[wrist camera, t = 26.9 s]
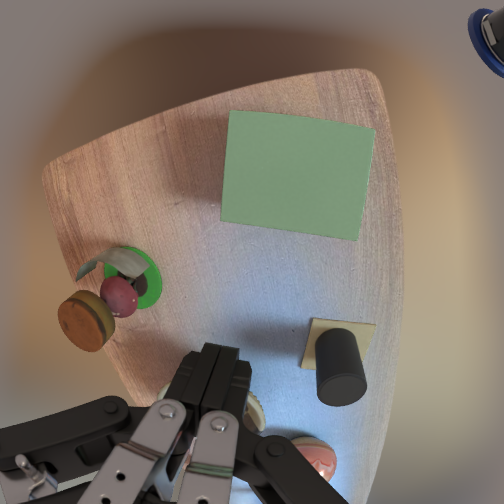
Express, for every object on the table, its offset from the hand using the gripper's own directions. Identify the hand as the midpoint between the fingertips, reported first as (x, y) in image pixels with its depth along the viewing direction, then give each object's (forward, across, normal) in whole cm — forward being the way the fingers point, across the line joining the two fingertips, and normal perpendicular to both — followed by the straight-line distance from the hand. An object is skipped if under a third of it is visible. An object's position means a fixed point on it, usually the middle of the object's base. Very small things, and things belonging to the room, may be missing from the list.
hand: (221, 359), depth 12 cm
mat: (+27, -13, +19) cm, 35 cm away
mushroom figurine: (+27, +20, +12) cm, 36 cm away
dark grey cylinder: (+27, -12, +18) cm, 35 cm away
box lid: (+20, -2, -7) cm, 21 cm away
